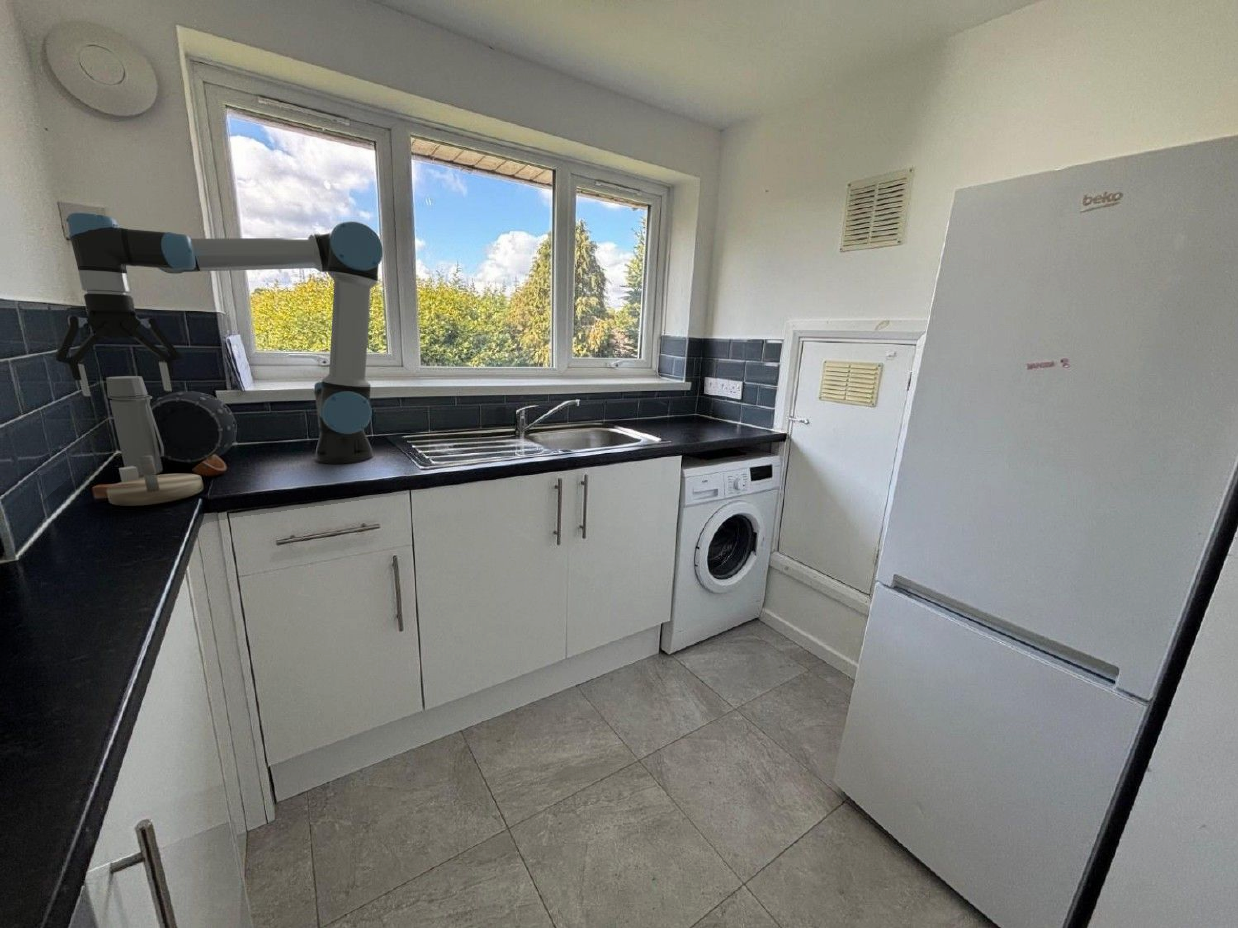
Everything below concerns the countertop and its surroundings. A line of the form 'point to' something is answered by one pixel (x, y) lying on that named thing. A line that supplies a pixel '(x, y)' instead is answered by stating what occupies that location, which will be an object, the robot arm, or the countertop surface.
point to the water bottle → (134, 421)
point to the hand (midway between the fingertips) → (129, 393)
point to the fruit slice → (211, 466)
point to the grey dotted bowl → (193, 426)
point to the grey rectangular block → (128, 473)
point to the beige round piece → (150, 487)
